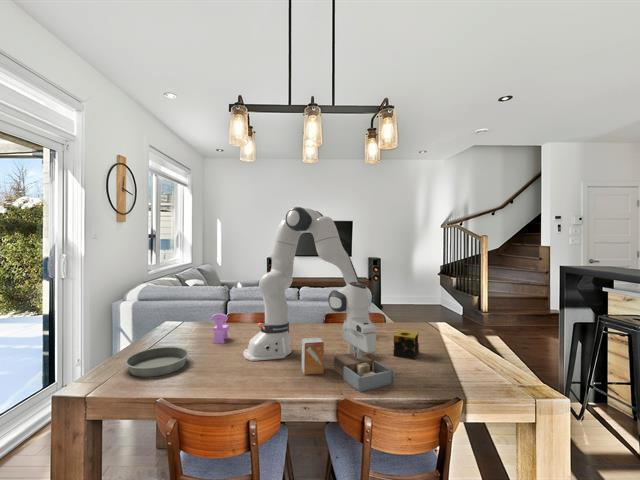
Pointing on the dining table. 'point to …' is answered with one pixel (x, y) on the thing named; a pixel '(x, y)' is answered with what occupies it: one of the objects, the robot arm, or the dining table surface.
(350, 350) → the teacup with lid
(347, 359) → the brown and beige block
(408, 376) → the dining table surface
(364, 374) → the front tile
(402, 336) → the candle
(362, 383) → the tray
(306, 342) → the small box
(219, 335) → the toy chair
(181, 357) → the cake pan
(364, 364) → the rear tile
